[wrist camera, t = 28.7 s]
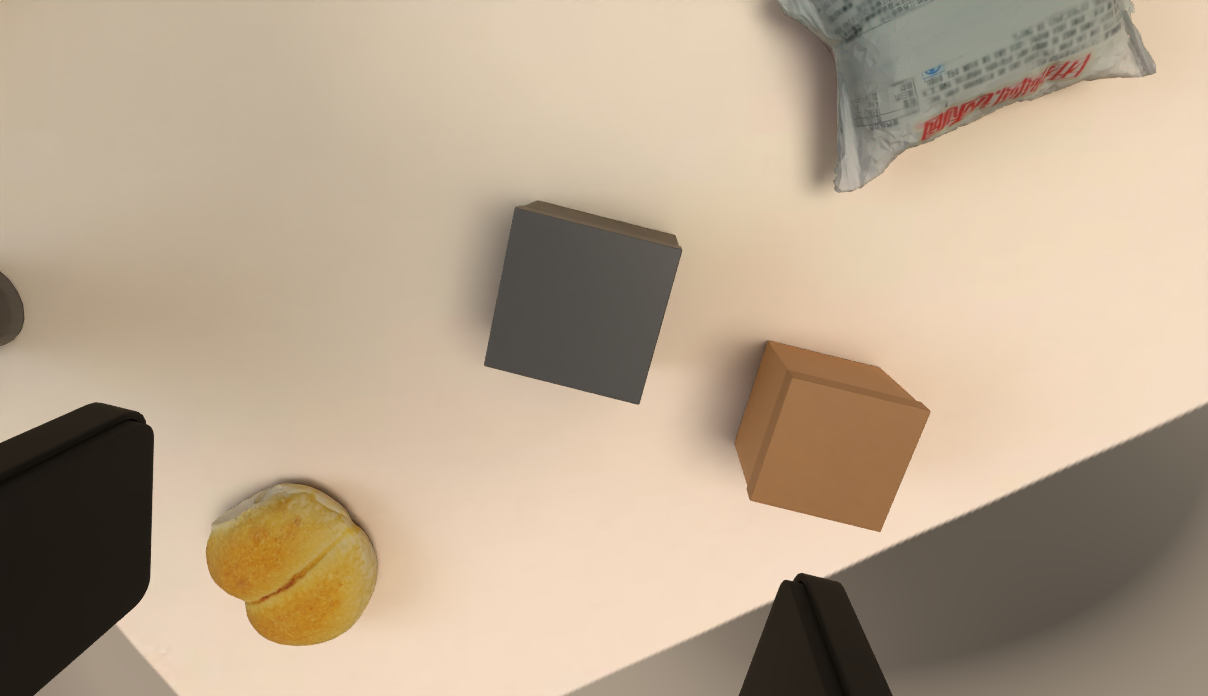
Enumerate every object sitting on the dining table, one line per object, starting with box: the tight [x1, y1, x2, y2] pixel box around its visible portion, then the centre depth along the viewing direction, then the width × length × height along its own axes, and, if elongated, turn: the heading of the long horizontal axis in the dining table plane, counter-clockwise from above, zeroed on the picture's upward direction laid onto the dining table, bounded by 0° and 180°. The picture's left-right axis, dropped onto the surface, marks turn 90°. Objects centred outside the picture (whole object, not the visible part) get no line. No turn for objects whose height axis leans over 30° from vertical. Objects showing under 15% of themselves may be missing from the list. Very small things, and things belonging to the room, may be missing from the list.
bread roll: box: [206, 483, 377, 646], centre depth 34 cm, size 8×9×4 cm
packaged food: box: [778, 0, 1156, 193], centre depth 24 cm, size 9×12×5 cm
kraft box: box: [735, 341, 930, 532], centre depth 29 cm, size 6×6×6 cm
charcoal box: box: [484, 201, 682, 405], centre depth 28 cm, size 7×7×5 cm
